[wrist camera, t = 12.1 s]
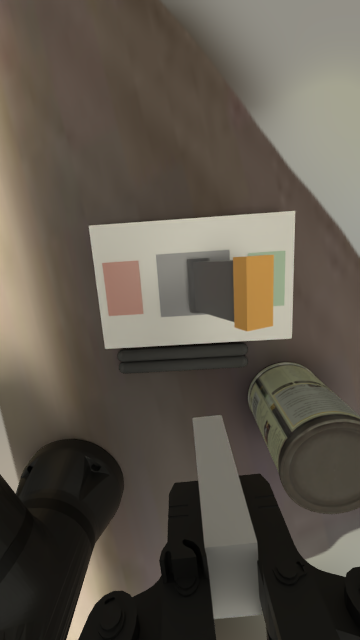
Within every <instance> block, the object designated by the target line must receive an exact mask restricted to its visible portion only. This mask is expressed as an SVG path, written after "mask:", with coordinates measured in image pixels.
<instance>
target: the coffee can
mask: <svg viewBox="0 0 360 640" xmlns="http://www.w3.org/2000/svg"><path fill="white" fill-rule="evenodd" d="M248 403H249V407H250V410H251V412H252V413H253V415H254V417H255V420H256V422H257V424H258V427H259V429H260V431H261V433H262V436H263V438H264V440H265V442H266V445H267V447H268V449H269V451H270V454H271V456H272V458H273V461H274V463H275V465H276V467H277V470H278V472H279V476H280V480H281V483H282V485H283V487H284V489H285V491H286V493H287V494H288V496H289V497H290V498H291V499H292V500H293V501H294V502H295V503H297V504H298V505H299V506H301V507H303V508H305V509H308V510H310V511H313V512H317V513H323V514H339V513H344V512H349V511H352V510H355V509H357V508H359V507H360V416H359V415H358V414H357V413H356V412H355V411H353V410H352V409H351V408H350V407H349V406H348V405H347V404H346V403H345V402H343V401H342V400H341V399H340V398H339V397H338V396H337V395H336V394H335V393H333V392H332V391H331V390H330V389H329V388H328V387H327V386H326V385H324V384H323V383H322V382H321V381H320V380H319V379H318V378H317V377H316V376H314V374H313V373H312V372H311V371H310V370H309V369H307V368H306V367H304V366H302V365H300V364H296V363H291V362H282V363H277V364H274V365H271V366H268V367H267V368H265V369H264V370H262V371H261V372H260V373H258V374H257V376H256V377H255V378H254V379H253V381H252V383H251V385H250V388H249V391H248Z"/></svg>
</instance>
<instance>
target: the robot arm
mask: <svg viewBox="0 0 360 640" xmlns="http://www.w3.org/2000/svg"><path fill="white" fill-rule="evenodd" d="M192 419H193V429H194V440H195V451H196V461H197V472H198V481H190V482H180V483H174V485H173V487H172V489H171V491H170V493H169V514H168V518H169V519H168V542H167V544H166V545H165V547H164V548H163V550H162V552H161V556H160V560H159V561H160V567H161V574H162V576H161V577H160V579H159V580H158V581H157V582H156V583H155V584H154V585H153V586H152V587H151V588H149V589H148V590H146V591H144V592H142V593H140V594H138V595H136V596H134V597H131V595H130V594H128V593H126V592H124V591H113V592H111V593H109V594H107V595H105V596H103V597H102V598H101V599H100V600H99V601H98V602H97V603H96V604H95V606H94V607H93V609H92V611H91V613H90V614H89V616H88V619H87V621H86V623H85V625H84V628H83V630H82V632H81V635H80V637H79V639H78V640H216V634H215V625H214V619H219V618H230V617H241V616H252V615H262V611H263V615H264V619H265V623H266V631H267V640H360V567H355V568H352V569H351V570H350V571H349V572H347V574H346V577H343V576H339V575H335V574H331V573H327V572H324V571H321V570H319V569H317V568H315V567H313V566H312V565H310V564H309V563H308V562H307V561H306V560H304V559H303V557H302V556H301V555H300V554H299V552H298V551H297V549H296V547H295V545H294V543H293V540H292V538H291V535H290V533H289V530H288V528H287V526H286V523H285V521H284V518H283V516H282V513H281V511H280V509H279V507H278V504H277V501H276V499H275V497H274V494H273V492H272V489H271V487H270V484H269V483H268V482H267V481H266V479H265V478H264V477H263V476H262V475H261V474H252V475H242V476H238V472H237V469H236V465H235V462H234V458H233V455H232V451H231V448H230V444H229V440H228V437H227V433H226V430H225V426H224V423H223V419H222V416H221V415H216V416H206V417H197V418H192ZM123 488H124V481H123V476H122V472H121V470H120V468H119V466H118V464H117V463H116V461H115V460H114V459H113V458H112V457H111V456H110V455H109V454H108V453H107V452H106V451H105V450H103V449H102V448H100V447H98V446H96V445H94V444H92V443H89V442H85V441H81V440H60V441H56V442H53V443H50V444H48V445H46V446H44V447H43V448H41V449H40V450H39V451H38V452H37V453H36V454H35V455H34V457H33V458H32V459H31V461H30V462H29V463H28V465H27V466H26V468H25V469H24V471H23V473H22V476H21V479H20V482H19V485H18V488H17V492H16V494H15V493H14V491H13V490H12V489H11V487H10V486H9V485H8V484H7V482H6V481H5V480H4V479H3V477H2V476H1V475H0V640H66V638H67V635H68V632H69V628H70V625H71V622H72V618H73V615H74V611H75V608H76V605H77V601H78V598H79V595H80V591H81V588H82V585H83V581H84V578H85V575H86V571H87V568H88V564H89V561H90V558H91V554H92V551H93V548H94V545H95V543H96V541H97V540H98V539H99V537H100V536H101V534H102V533H103V531H104V530H105V528H106V527H107V525H108V524H109V522H110V521H111V519H112V518H113V517H114V515H115V513H116V512H117V509H118V507H119V504H120V501H121V497H122V493H123ZM261 607H262V609H261Z"/></svg>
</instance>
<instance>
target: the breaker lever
mask: <svg viewBox="0 0 360 640" xmlns="http://www.w3.org/2000/svg"><path fill="white" fill-rule="evenodd" d="M187 270H188V287H189V304H190V312H191V313H205V314H208V315H212V316H215V317H218V318H222V319H225V320H228V321H232V322H234V327H235V328H238V329H241V330H244V331H252V330H257V329H261V328H266V327H271V326H273V284H274V255H257V256H243V257H233V260H218V261H210V258H197V259H187Z"/></svg>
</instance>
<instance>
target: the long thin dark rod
mask: <svg viewBox="0 0 360 640" xmlns="http://www.w3.org/2000/svg"><path fill="white" fill-rule="evenodd" d="M247 351H248V347H247V346H246V345H245V344H243V343H238V344H220V345H203V346H185V347H167V348H149V349H131V350H121V351H120V352H119V353H118V359H119V360H120V361H122V363H121V364H120V365H119V370H120V372H121V373H143V372H161V371H180V370H199V369H218V368H237V367H245V366H246V365H247V364H248V359H247V357H245V356H243V355H245V354H246V353H247Z"/></svg>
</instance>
